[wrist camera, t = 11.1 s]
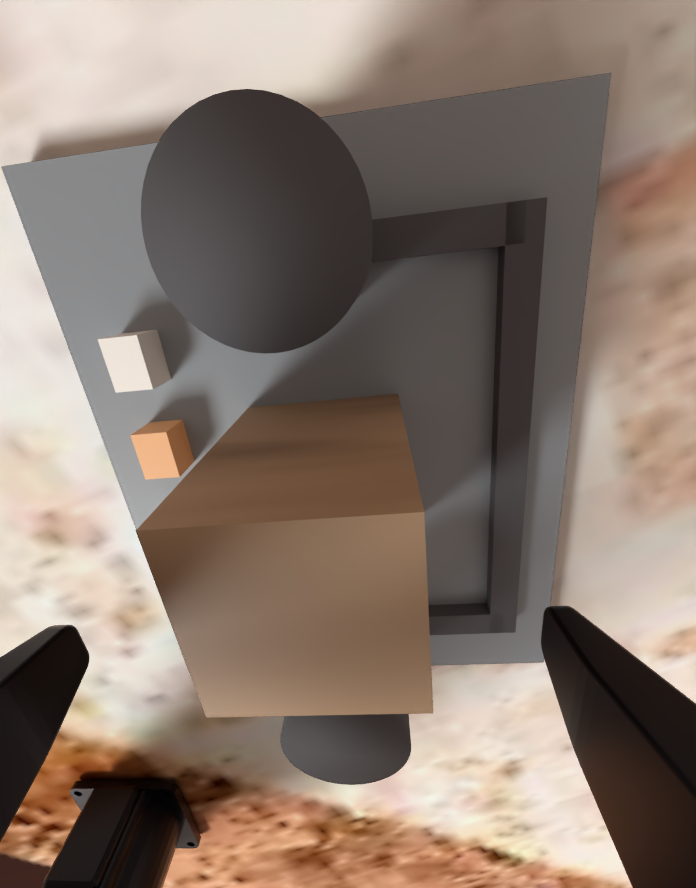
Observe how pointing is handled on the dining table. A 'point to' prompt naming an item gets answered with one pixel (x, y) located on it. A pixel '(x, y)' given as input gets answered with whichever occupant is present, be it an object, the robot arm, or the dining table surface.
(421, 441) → the panel
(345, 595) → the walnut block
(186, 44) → the dining table surface
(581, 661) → the robot arm
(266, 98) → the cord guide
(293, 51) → the dining table surface
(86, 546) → the dining table surface
